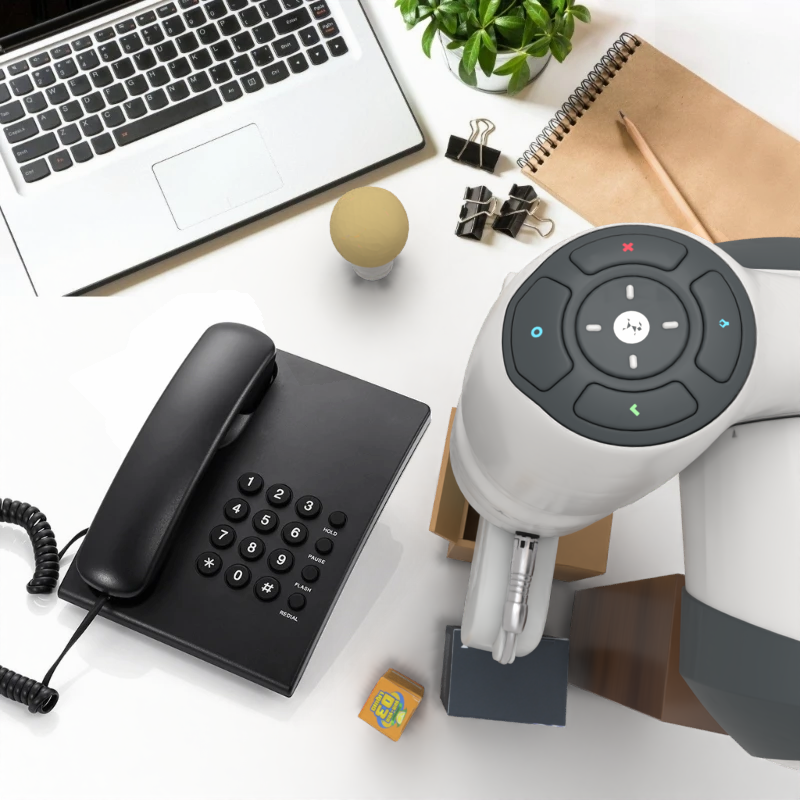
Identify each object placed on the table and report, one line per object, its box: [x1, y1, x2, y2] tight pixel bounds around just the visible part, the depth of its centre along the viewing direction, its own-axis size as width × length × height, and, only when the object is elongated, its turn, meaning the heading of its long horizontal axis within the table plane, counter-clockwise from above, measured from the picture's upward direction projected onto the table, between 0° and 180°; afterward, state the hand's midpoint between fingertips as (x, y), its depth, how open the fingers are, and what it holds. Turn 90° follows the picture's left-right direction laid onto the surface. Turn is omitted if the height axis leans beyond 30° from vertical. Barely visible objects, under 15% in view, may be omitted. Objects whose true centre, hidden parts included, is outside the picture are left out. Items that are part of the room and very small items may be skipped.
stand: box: [568, 572, 730, 737], centre depth 51 cm, size 7×7×25 cm
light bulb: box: [329, 185, 410, 281], centre depth 66 cm, size 6×6×10 cm
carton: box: [446, 498, 614, 583], centre depth 59 cm, size 10×8×12 cm
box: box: [439, 624, 570, 728], centre depth 57 cm, size 8×6×11 cm
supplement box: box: [357, 667, 425, 743], centre depth 57 cm, size 3×3×10 cm
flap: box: [428, 406, 465, 544], centre depth 52 cm, size 5×8×1 cm
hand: (508, 488), depth 52 cm, fingers closed on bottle, 3 cm apart
